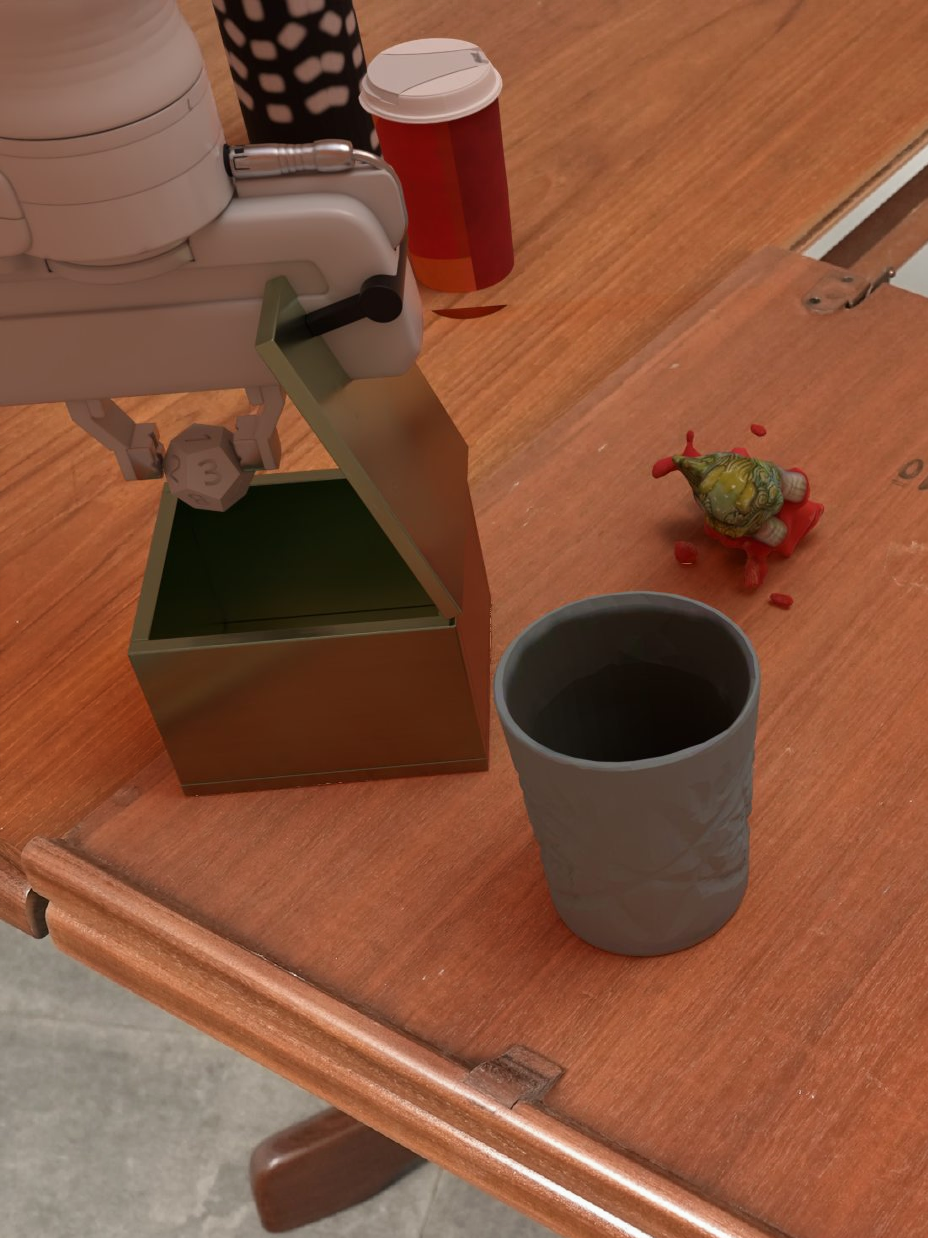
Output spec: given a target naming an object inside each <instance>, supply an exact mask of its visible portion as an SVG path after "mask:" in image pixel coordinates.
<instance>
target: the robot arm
mask: <svg viewBox="0 0 928 1238" xmlns="http://www.w3.org/2000/svg"><path fill="white" fill-rule="evenodd" d="M206 67H207V66H206V64H205V60H204V57H203V52H202V48H201V45H200V44H199V41H198V39H197V37H196V34H195V33H194V30H193V29H192V27H191V25H190V24H189V22H188V21H187V20H186V18H185V15H183V13H182V11H181V8H180V7H179V5H178V2H177V0H0V408H3V407H5V408H6V407H16V406H17V407H18V406H29V405H43V404H44V405H45V404H57V403H65V406H66V409H67V411H68V413H69V416H70V418H71V421H72V422H73V423H74V424H76V425H77V426H78V427H80V428H81V429H82V430H83V431H85V432H86V433H87V434H89V435H90V436H91V437H92V438H93V439H95V440H96V441H97V442H99V443H100V444H101V445H102V446H104V447H105V448H106V449H107V450H109V452H112V451H113V453H114V456H115V458H116V461H117V463H118V467H119V469H120V472H121V473H122V477H123V479H124V481H126V482H134V481H140V482H141V481H149V480H150V481H152V480H161V479H163V478H164V476H165V473H164V470H163V467H162V462H163V459H164V457H165V454H166V448H165V446H164V445H165V444H163V443H162V442H161V441H160V440H161V439H160V438H161V434H160V431H159V429H158V425H157V423H156V422H143V423H142V422H140V423H136V421H134V420H133V419H132V418H131V417H130V416H129V415H128V414H127V413H126V412H125V411H124V410H123V409H122V408H121V407H120V406H119V405H118V404H116V402H115V401H114V400H112V399H122V398H135V397H136V398H137V397H145V396H146V397H147V396H149V397H150V396H161V395H172V394H173V395H175V394H185V393H186V394H188V393H199V392H200V393H201V392H213V391H224V390H225V391H226V390H238V389H244V391H245V394H246V396H247V401H248V403H249V405H251V406H252V407H257V406H258V408H257V410H256V413H254V414H246V415H237V416H236V421H235V429H236V430H235V431H233V434H234V437H233V444H234V448H235V451H236V454H237V455H238V456H239V457H240V467H241V469H242V471H256V472H258V471H259V472H260V471H261V472H262V471H273V470H274V471H275V470H279V469H280V465H281V459H282V443H281V439H280V435H279V432H278V428H277V425H278V423H279V420H280V417H281V416H282V412H283V410H284V408H285V405H286V400H287V393H286V392H285V390H284V389H283V388H282V386H281V385H280V383H279V382H278V381H277V379H276V378H275V376H274V375H273V373H272V372H271V371H270V369H269V368H268V366H267V365H266V363H265V362H264V361H263V359H262V358H261V356H260V355H259V354H258V352H257V351H256V349H255V341H256V335H257V330H258V324H259V318H260V313H261V307H262V302H263V296H264V290H265V285H266V282H267V281H269V280H271V279H274V278H276V277H279V276H281V275H284V276H285V277H286V278H287V280H288V281H289V283H290V284H291V286H292V287H293V289H294V290H295V292H296V293H297V295H298V298H297V299H298V301H299V302H300V304H301V305H302V307H303V308H304V310H305V312H306V313H307V315H308V313H310V312H313V311H315V310H318V309H320V308H323V307H325V306H328V305H331V304H333V303H336V302H338V301H341V300H343V299H346V298H348V297H351V296H354V295H356V294H359V293H360V289H361V286H362V284H363V282H364V281H365V280H366V279H368V278H370V277H371V276H374V275H379V274H385V275H396V273H397V266H398V259H399V244H400V243H401V242H402V240H403V239H404V237H405V235H406V232H407V228H408V214H407V210H406V205H405V200H404V195H403V190H402V185H401V183H400V180H399V178H398V176H397V174H396V173H395V171H394V169H393V168H392V167H391V166H390V165H389V164H388V163H386V162H385V161H384V160H383V159H381V158H380V157H378V156H376V155H375V154H372V153H370V152H367V151H363V150H359V149H353V145H352V143H351V142H350V141H347V140H340V139H324V140H318V141H314V143H308V144H302V145H301V144H295V145H294V144H287V145H286V144H278V143H266V144H251V145H250V144H236V145H229V143H227V139H226V136H225V131H224V128H223V124H222V121H221V118H220V113H219V109H218V107H217V103H216V100H215V95H214V92H213V89H212V85H211V81H210V78H209V73H208V71H207V68H206ZM355 161H360V162H364V163H367V164H356V165H355ZM394 249H396V251H395V250H394ZM414 274H415V273H414V271H413V267H412V265H411V262H410V260H409V257H408V255H407V262H406V274H405V286H404V297H403V309H402V312H401V314H400V315H399V317H398V318H396V319H395V320H394V321H391V322H388V323H378V322H375V321H372V320H370V319H369V318H367V317H366V318H363V319H361V320H358V321H356V322H353V323H350V324H348V325H345V326H343V327H340V328H338V329H335V330H332V331H330V332H327V333H325V334H322V335H321V336H322V337H323V339H324V340H325V342H326V343H327V345H328V346H329V348H330V349H331V351H332V353H333V354H334V356H335V357H336V359H337V360H338V362H339V363H340V365H341V366H342V368H343V369H344V370H345V372H346V373H347V374H348V375H349V377H350V378H351V379H352V380H356V379H369V378H383V377H395V376H401V375H404V374H405V373H407V372H408V370H409V369H410V368H411V366H412V365H413V363H414V362H416V361H417V359H418V358H419V357H420V355H421V353H422V348H423V344H424V343H423V342H424V326H425V325H424V323H425V322H424V310H423V303H422V300H421V296H420V292H419V288H418V284H417V280H416V277H415V275H414Z"/></svg>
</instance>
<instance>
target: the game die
mask: <svg viewBox="0 0 928 1238" xmlns="http://www.w3.org/2000/svg"><path fill="white" fill-rule="evenodd" d="M233 437H234V432H232V431H231V430H230V429H227V428H226V427H225V426H222V425H221V426H220V425H213V424H205V423H197V422H193V423H191V424H190V425H189V426H187V428H185V429H183V431H181V432H180V433H178V434H177V435H175V437H173V438H172V439H171V440H170V441H169V444H168V445H167V449H166V450H165V452H166V454H165V457H164V459H163V462H162V467H163V471H164V476H165V479H166V482H168V485H169V488H170V491H171V494H173V495H175V496H176V497H178V498H179V499H181V500H182V501H184V502H186V503H187V504H189V505H190V506H192V507H194V508H198V509H206V510H214V511H221V512H224V511H226V510H227V509H228V508H229V507H231V506H232V505H233V504H234V503H236V502H237V501H238V500H239V499H240V498H242V497H243V496H244V495H245V494H246V493H247V490H248V488H249V486H250V483H251V481H252V479H253V477H254V475H256V472H257V471H242V469H241V467H240V457H239V456H238V455H237V454H236V451H235V448H234V444H233Z"/></svg>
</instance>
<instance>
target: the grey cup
mask: <svg viewBox="0 0 928 1238" xmlns="http://www.w3.org/2000/svg"><path fill="white" fill-rule="evenodd" d="M492 680H493V681H492V695H493V704H494V707H495V710H496V713H497V716H498V720H499V723H500V725H501V729H502V732H503V735H504V738H505V741H506V745H507V748H508V750H509V754H510V759H511V761H512V764H513V767H514V770H515V771H516V772H517V774H518V778H517V780H518V784H519V787H520V789H521V792H522V795H523V796H522V798H523V802H524V805H525V808H526V812H527V816H528V820H529V823H530V825H531V827H532V833H533V837H534V839H535V842H537V843H539V847H540V848H539V849H540V850H539V857H540V861H541V865H542V868H543V872H544V876H545V881H546V883H547V888H548V892H549V895H550V898H551V901H552V904H553V906H554V909H555V910H556V913H557V914H558V916H559V917H560V918H561V920H562V921H563V923H564V924H565V926H566V927H567V928H568V929H569V930H570V931H571V932H572V933H573V934H574V935H575V936H576V937H577V938H578V939H579V938H580V940H582V941H584V942H586V943H587V944H589V945H590V946H593V947H594V948H596V949H599V950H602V951H605V952H609V953H612V954H616V955H622V956H627V957H657V956H662V955H668V954H672V953H675V952H681V951H682V950H685V949H688V948H691V947H693V946H695V945H698V944H699V943H701V942H703V941H706V939H709V938H710V937H711V936H713V935H714V934H716V933H717V932H718V931H720V929H722V928H723V927H724V926H725V925H726V924H727V922H729V920H730V919H731V918H732V917H733V915H735V913H736V912H737V909H738V908H739V906H740V904H741V902H742V901H743V897H744V896H745V893H746V890H747V886H748V882H749V881H748V880H749V872H750V852H751V851H750V849H751V847H750V836H751V835H750V834H751V827H750V824H749V822H748V819H749V817H750V816H751V814H752V812H753V796H754V795H753V794H754V784H753V783H754V769H755V768H754V767H755V766H754V765H753V764H754V762H755V759H756V758H755V756H756V748H755V746H756V745H755V744H756V739H757V730H758V728H757V727H758V718H759V707H760V696H761V685H762V671H761V665H760V660H759V657H758V654H757V651H756V650H755V648H754V645H753V643H752V641H751V640H750V639H749V637H748V636H747V634H746V633H745V632H744V631H743V629H742V628H741V627H740V626H739V625H738V624H736V623H735V622H734V621H733V620H732V619H731V618H729V617H728V616H727V615H725V613H723V612H722V611H720V610H718V609H716V608H714V607H713V606H711V605H708V604H706V603H704V602H702V601H699V600H696V599H693V598H690V597H686V596H683V595H679V594H676V593H668V592H661V591H653V590H628V591H620V592H613V593H605V594H597V595H592V596H589V597H585V598H582V599H579V600H578V599H577V600H576V601H571V602H567V603H566V604H564V605H562V606H559V607H557V608H555V609H553V610H551V611H548V612H546V613H545V614H543V615H542V616H540V617H538V618H537V619H536V620H534V621H532V622H531V623H530V624H529V625H528V626H526V627H525V628H524V629H522V630H521V631H520V632H519V633H518V635H516V636H515V637H514V638H513V640H512V641H511V642H510V643H509V644H508V646H507V647H506V648H505V650H504V651H503V653H502V655H501V657H500V659H499V661H498V663H497V666H496V668H495V672H494V676H493V679H492Z"/></svg>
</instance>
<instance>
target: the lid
mask: <svg viewBox="0 0 928 1238" xmlns="http://www.w3.org/2000/svg"><path fill="white" fill-rule="evenodd" d="M394 250H395V251H396V249H394ZM408 251H409V249H408V232H406V235H405V237H404V239H403V240H402V242H401V243H400V244H399V259H398V266H397V273H396V275H385V274H379V275H374V276H371V277H370V278H368V279H366V280H365V281H364V282H363V284H362V286H361V289H360V293H359V294H356V295H354V296H351V297H348V298H346V299H343V300H341V301H338V302H336V303H333V304H331V305H328V306H325V307H323V308H320V309H318V310H315V311H313V312H310V313H308V315H307V313H306V312H305V310H304V308H303V307H302V305H301V304H300V302H299V301H298V299H297V298H298V295H297V293H296V292H295V290H294V289H293V287H292V286H291V284H290V283H289V281H288V280H287V278H286V277H285V276H284V275H281V276H279V277H276V278H274V279H271V280H269V281H267V282H266V285H265V290H264V296H263V302H262V307H261V313H260V318H259V324H258V330H257V335H256V341H255V349H256V351H257V352H258V354H259V355H260V356H261V358H262V359H263V361H264V362H265V363H266V365H267V366H268V368H269V369H270V371H271V372H272V373H273V375H274V376H275V378H276V379H277V381H278V382H279V383H280V385H281V386H282V388H283V389H284V390H285V392H286V393H287V394H286V396H288V398H289V399H290V401H291V402H292V403H293V405H294V406H295V407H296V409H297V410H298V412H299V413H300V415H301V416H302V418H303V419H304V421H305V422H306V424H307V425H308V426H309V428H310V429H311V430H312V432H313V433H314V435H315V436H316V438H317V439H318V440H319V441H320V443H321V444H322V446H323V448H324V449H325V450H326V452H327V454H329V456H330V458H331V459H332V460H333V461H334V463H335V464H336V466H337V468H339V469H340V470H341V471H342V473H343V474H344V476H345V477H346V479H347V480H348V481H349V483H350V484H351V486H352V487H353V489H354V490H355V491H356V493H357V494H358V496H359V497H360V498H361V500H362V501H363V503H364V504H365V506H366V507H367V508H368V510H369V511H370V513H371V514H372V515H373V517H374V518H375V520H376V521H377V523H378V524H379V525H380V527H381V528H382V530H383V531H384V533H385V534H386V535H387V537H388V538H389V540H390V541H391V542H392V544H393V545H394V547H395V548H396V550H397V551H398V552H399V554H400V555H401V557H402V558H403V560H404V561H405V562H406V564H407V565H408V567H409V568H410V569H411V571H412V572H413V574H414V575H415V577H416V578H417V579H418V581H419V582H420V584H421V585H422V587H423V588H424V589H425V591H426V592H427V594H428V595H429V596H430V598H431V599H432V601H433V602H434V604H435V605H436V606H437V608H438V609H439V611H440V612H441V614H442V615H443V616H444V618H445V619H446V620H448V619H451V618H453V617H456V616H459V615H462V612H463V586H464V559H465V532H466V506H467V480H469V479H468V477H469V476H468V475H469V452H470V449H469V448H470V447H469V445H468V443H467V442H466V440H465V438H464V436H463V435H462V434H461V432H460V431H459V429H458V426H456V423H454V421H453V420H452V418H451V416H450V414H449V413H448V411H447V409H446V408H445V407H444V405H443V403H442V402H441V400H440V399H439V397H438V395H437V394H436V392H435V390H434V389H433V388H432V385H431V384H430V383H429V381H428V380H427V377H426V376H425V374H424V373H423V371H422V370H421V368H420V367H419V366H418V364H417V362H416V361H415V362H414V363H413V365H412V366H411V368H410V369H409V370H408V372H407V373H405V374H404V375H401V376H395V377H383V378H369V379H356V380H352V379H351V378H350V377H349V375H348V374H347V373H346V372H345V370H344V369H343V368H342V366H341V365H340V363H339V362H338V360H337V359H336V357H335V356H334V354H333V353H332V351H331V349H330V348H329V346H328V345H327V343H326V342H325V340H324V339H323V337H322V336H321V335H322V334H325V333H327V332H330V331H332V330H335V329H338V328H340V327H343V326H345V325H348V324H350V323H353V322H356V321H358V320H361V319H363V318H366V317H367V318H369V319H370V320H372V321H375V322H378V323H388V322H391V321H394V320H395V319H396V318H398V317H399V315H400V314H401V312H402V309H403V297H404V286H405V274H406V262H407V256H408Z"/></svg>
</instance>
